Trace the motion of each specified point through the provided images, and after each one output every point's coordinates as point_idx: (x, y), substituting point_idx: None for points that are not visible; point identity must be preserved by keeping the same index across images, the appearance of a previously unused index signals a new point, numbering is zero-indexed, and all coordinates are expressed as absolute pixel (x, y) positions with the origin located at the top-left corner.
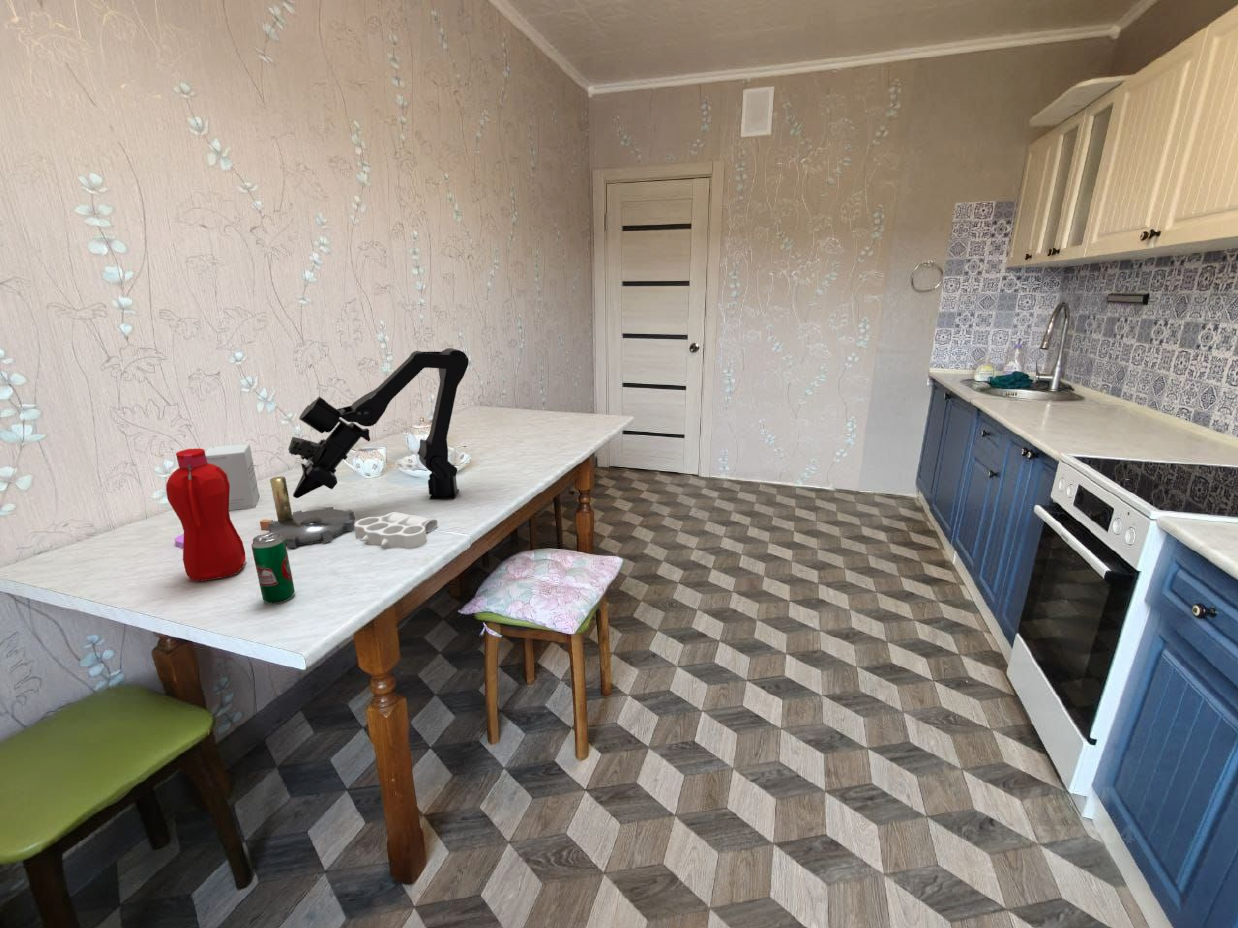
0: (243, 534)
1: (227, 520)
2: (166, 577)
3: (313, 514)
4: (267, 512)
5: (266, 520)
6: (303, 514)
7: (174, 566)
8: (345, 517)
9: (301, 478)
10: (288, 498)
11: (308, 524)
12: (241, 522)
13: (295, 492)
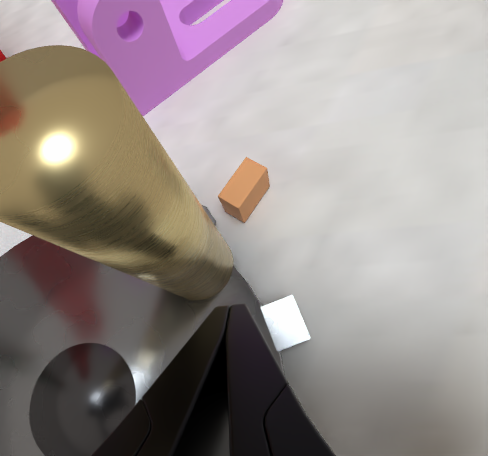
0: (228, 124)
1: None
2: (8, 17)
3: None
4: (484, 169)
5: (246, 182)
6: None
7: None
8: None
9: (249, 439)
10: (134, 276)
11: (45, 386)
12: (376, 94)
13: (198, 329)
